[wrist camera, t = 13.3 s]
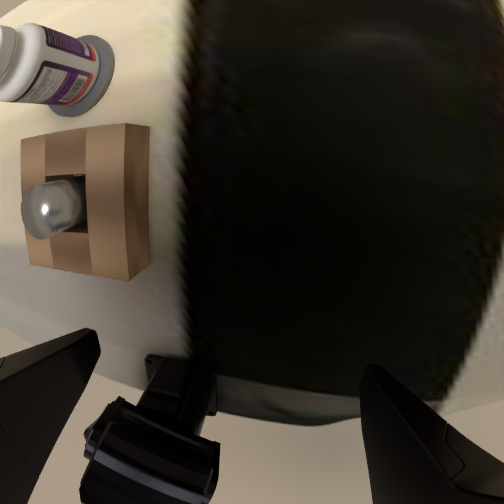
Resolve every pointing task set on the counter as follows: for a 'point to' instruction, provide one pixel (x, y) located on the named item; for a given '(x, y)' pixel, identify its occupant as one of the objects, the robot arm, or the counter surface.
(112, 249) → the socket block
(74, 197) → the plug
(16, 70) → the pill bottle
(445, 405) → the counter surface
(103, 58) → the coaster
